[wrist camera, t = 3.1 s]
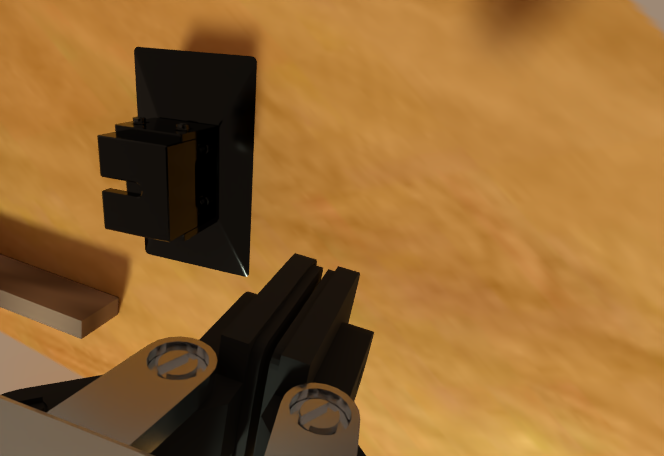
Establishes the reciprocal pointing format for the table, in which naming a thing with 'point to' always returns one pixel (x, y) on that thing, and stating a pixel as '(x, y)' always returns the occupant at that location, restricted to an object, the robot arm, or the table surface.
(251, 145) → the build plate
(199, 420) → the robot arm
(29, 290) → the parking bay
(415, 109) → the table surface
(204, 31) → the table surface
